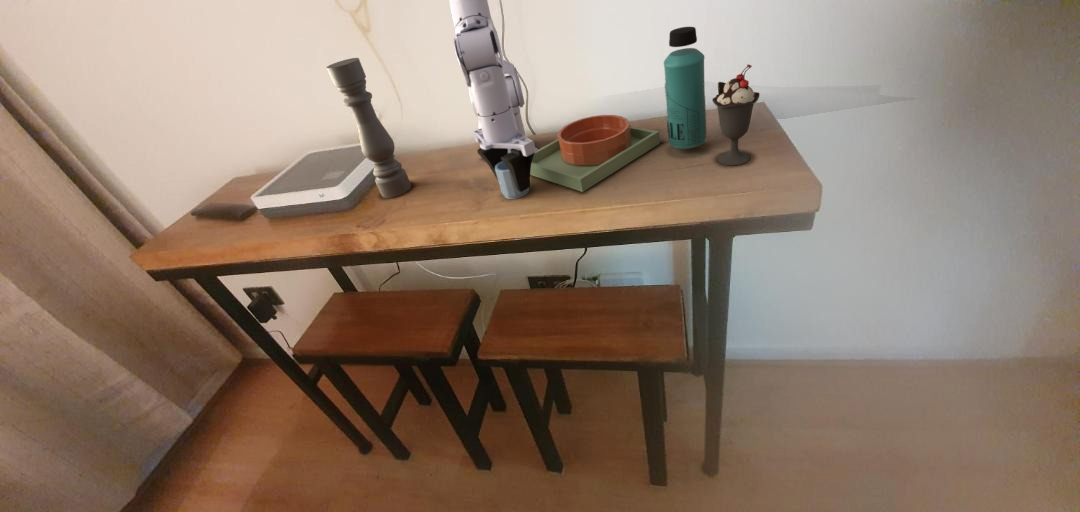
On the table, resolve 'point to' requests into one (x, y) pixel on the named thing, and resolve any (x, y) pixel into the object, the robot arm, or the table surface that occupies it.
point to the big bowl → (594, 139)
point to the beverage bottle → (685, 91)
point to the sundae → (735, 115)
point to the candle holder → (369, 127)
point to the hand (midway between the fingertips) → (514, 185)
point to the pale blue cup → (508, 182)
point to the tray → (583, 177)
